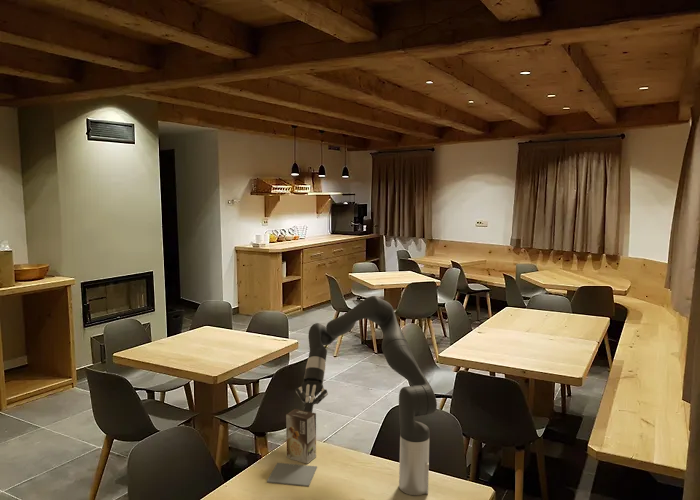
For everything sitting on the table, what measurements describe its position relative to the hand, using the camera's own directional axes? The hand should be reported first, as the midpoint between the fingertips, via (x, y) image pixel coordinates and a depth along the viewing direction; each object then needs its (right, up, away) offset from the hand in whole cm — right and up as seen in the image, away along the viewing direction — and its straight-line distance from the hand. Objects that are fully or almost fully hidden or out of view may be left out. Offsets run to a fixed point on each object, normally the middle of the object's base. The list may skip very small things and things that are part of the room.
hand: (307, 413), depth 194 cm
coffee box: (-2, -13, -9) cm, 16 cm away
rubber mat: (-3, -14, -20) cm, 25 cm away
